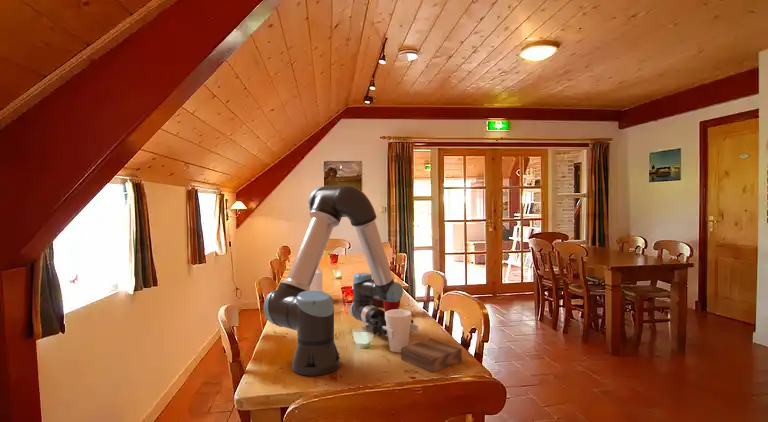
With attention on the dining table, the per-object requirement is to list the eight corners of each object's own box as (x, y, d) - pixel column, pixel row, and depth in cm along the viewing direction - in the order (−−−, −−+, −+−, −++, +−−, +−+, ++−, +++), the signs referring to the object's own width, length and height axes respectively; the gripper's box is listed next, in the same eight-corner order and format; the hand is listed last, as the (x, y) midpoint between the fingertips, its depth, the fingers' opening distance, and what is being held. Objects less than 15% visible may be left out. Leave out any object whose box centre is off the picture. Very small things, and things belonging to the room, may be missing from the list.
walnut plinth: (431, 372, 131) (431, 359, 131) (401, 359, 142) (401, 347, 142) (461, 360, 140) (461, 348, 140) (430, 349, 151) (430, 338, 151)
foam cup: (416, 347, 154) (416, 311, 153) (403, 355, 146) (403, 317, 145) (394, 343, 159) (393, 308, 158) (380, 350, 151) (379, 314, 150)
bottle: (295, 302, 222) (294, 254, 222) (314, 298, 230) (313, 252, 230) (307, 306, 214) (306, 256, 213) (327, 302, 222) (326, 254, 221)
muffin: (388, 303, 218) (388, 283, 218) (383, 308, 207) (383, 288, 207) (366, 302, 221) (365, 283, 221) (360, 307, 210) (359, 287, 210)
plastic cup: (401, 317, 191) (401, 291, 191) (378, 316, 194) (377, 290, 193) (405, 311, 202) (405, 286, 202) (383, 310, 204) (382, 285, 204)
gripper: (398, 322, 173) (431, 337, 154) (348, 331, 162) (377, 349, 143) (398, 303, 173) (431, 316, 153) (348, 311, 162) (377, 326, 142)
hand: (405, 332), depth 148 cm, fingers closed on foam cup, 9 cm apart
